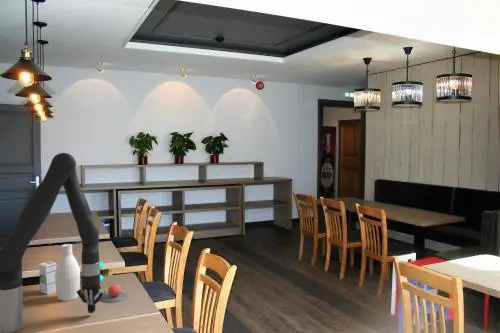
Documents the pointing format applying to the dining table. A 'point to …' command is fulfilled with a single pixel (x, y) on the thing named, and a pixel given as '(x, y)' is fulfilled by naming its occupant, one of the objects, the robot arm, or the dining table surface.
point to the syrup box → (47, 277)
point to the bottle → (67, 275)
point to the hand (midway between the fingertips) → (91, 312)
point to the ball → (114, 290)
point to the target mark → (114, 298)
